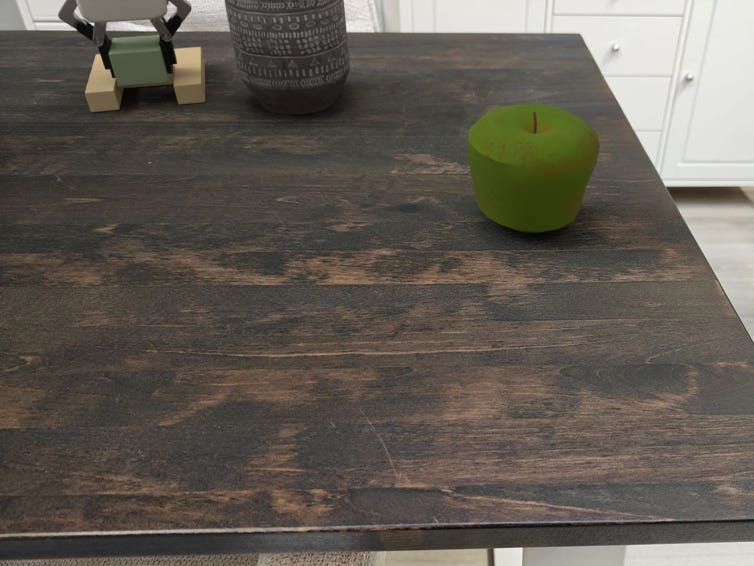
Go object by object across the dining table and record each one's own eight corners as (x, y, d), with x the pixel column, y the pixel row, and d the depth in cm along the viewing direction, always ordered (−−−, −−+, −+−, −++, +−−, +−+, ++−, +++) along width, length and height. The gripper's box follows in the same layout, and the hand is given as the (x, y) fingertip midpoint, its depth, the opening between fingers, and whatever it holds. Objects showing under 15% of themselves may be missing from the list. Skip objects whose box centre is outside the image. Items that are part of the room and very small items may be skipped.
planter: (227, 94, 100) (201, -28, 90) (322, 72, 106) (308, -44, 96) (273, 132, 91) (250, 2, 81) (373, 105, 98) (363, -18, 88)
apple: (448, 232, 75) (446, 124, 67) (495, 179, 83) (499, 78, 76) (565, 262, 71) (577, 152, 64) (603, 204, 80) (618, 101, 72)
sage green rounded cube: (118, 86, 94) (108, 54, 91) (121, 69, 98) (112, 37, 96) (168, 82, 95) (159, 50, 93) (169, 65, 100) (161, 34, 97)
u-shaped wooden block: (91, 112, 95) (84, 93, 93) (101, 72, 105) (95, 54, 103) (205, 102, 98) (201, 83, 96) (204, 64, 108) (201, 46, 106)
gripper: (179, -96, 89) (212, 57, 101) (21, -91, 85) (75, 67, 97) (177, -83, 84) (212, 77, 96) (9, -77, 80) (68, 89, 92)
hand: (143, 70), depth 96 cm, fingers closed on sage green rounded cube, 6 cm apart
